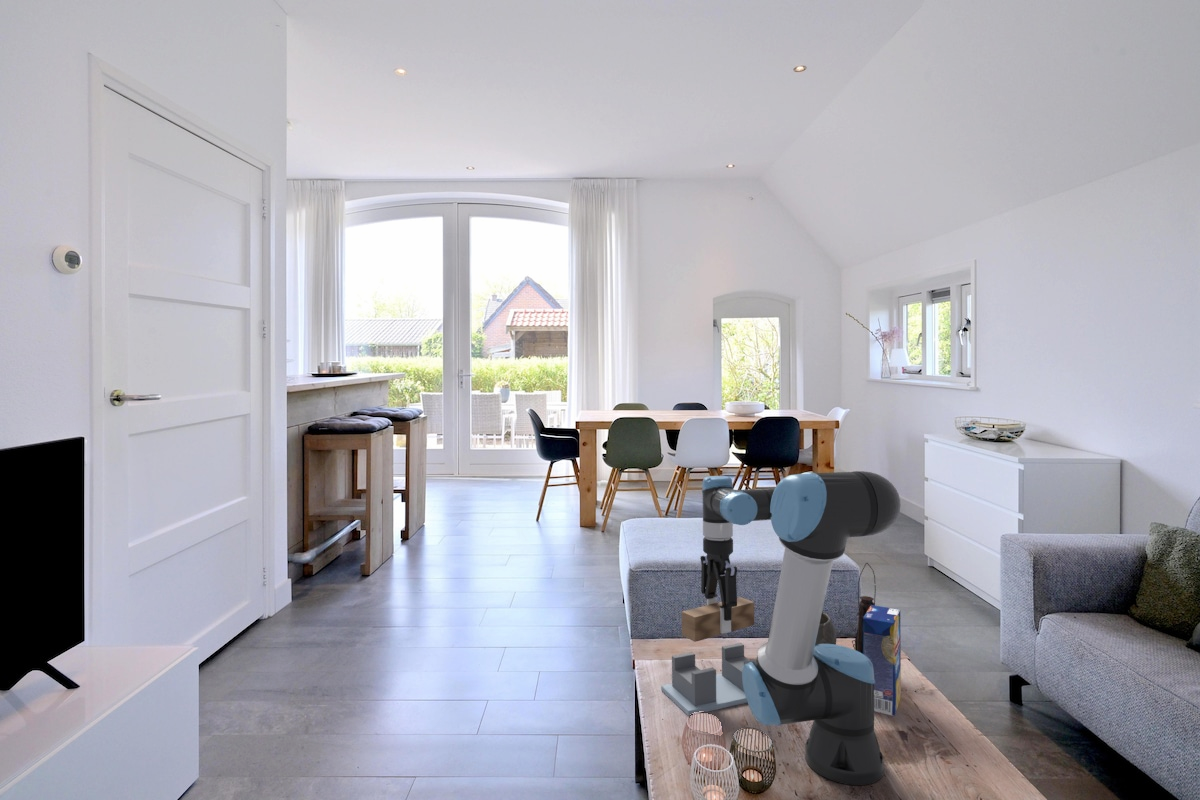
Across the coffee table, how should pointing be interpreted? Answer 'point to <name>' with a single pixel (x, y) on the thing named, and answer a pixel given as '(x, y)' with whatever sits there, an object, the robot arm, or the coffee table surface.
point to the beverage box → (884, 655)
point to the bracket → (708, 682)
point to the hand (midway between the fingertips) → (718, 627)
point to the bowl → (826, 631)
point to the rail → (715, 619)
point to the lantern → (863, 608)
